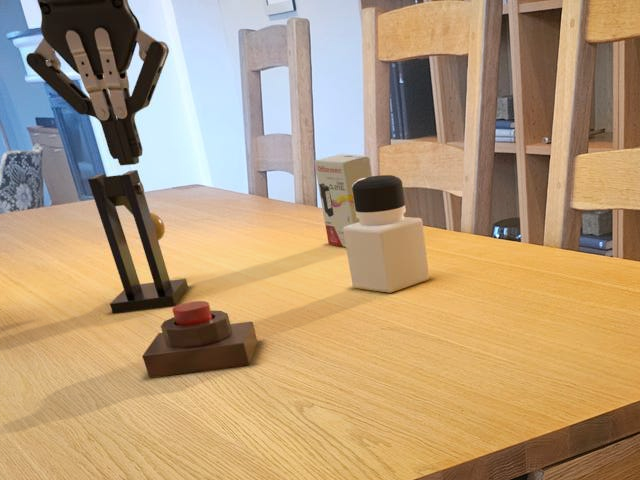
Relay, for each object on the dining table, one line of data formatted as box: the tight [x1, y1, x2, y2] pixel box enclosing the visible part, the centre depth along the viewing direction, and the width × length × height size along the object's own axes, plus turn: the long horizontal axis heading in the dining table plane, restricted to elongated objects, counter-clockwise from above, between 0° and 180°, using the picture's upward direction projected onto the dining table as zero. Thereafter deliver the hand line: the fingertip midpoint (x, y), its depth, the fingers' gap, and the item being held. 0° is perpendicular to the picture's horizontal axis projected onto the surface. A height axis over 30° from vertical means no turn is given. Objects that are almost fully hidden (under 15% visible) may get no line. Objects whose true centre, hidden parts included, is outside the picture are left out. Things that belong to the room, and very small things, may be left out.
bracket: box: [87, 169, 189, 314], centre depth 106 cm, size 10×8×15 cm
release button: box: [171, 300, 213, 326], centre depth 83 cm, size 4×4×2 cm
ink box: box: [313, 153, 373, 248], centre depth 126 cm, size 9×5×12 cm, turn 40°
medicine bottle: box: [343, 174, 430, 294], centre depth 102 cm, size 7×7×12 cm
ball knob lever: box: [103, 174, 166, 241], centre depth 109 cm, size 15×4×4 cm, turn 6°
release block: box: [141, 309, 258, 379], centre depth 85 cm, size 10×8×4 cm
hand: (129, 163), depth 81 cm, fingers closed
